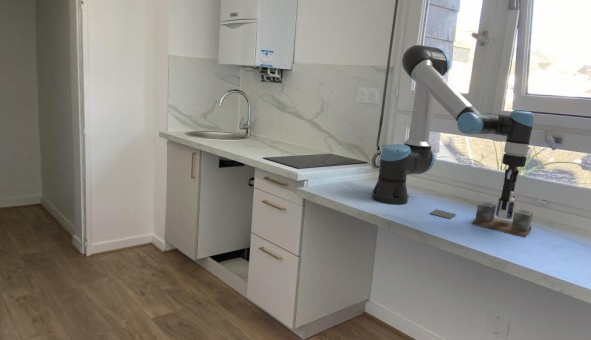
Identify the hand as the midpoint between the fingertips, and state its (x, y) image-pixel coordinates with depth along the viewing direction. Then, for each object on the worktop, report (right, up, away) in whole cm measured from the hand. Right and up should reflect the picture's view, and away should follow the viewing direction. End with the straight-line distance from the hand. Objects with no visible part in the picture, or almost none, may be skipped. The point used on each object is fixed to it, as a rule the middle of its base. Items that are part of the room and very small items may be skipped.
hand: (503, 216), depth 161 cm
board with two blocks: (0, -4, +1) cm, 4 cm away
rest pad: (-19, 0, +10) cm, 22 cm away
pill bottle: (0, -1, 0) cm, 1 cm away
